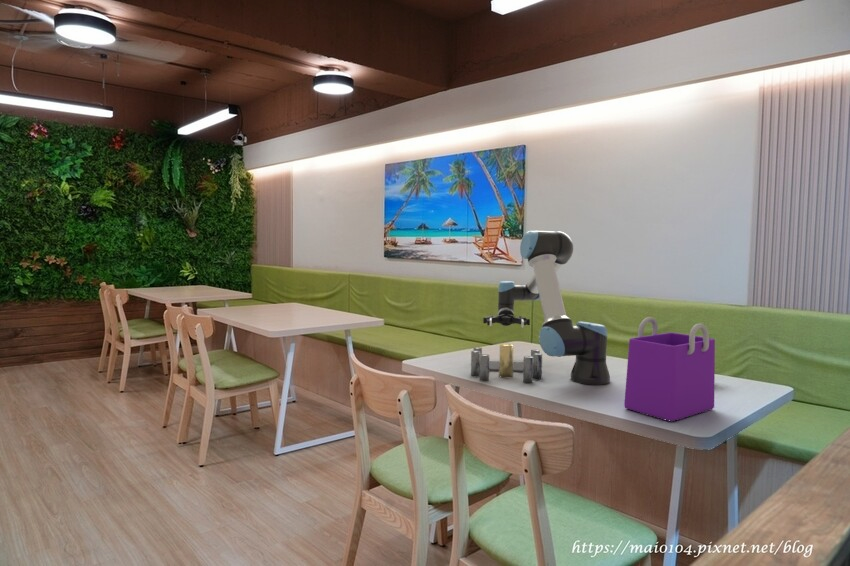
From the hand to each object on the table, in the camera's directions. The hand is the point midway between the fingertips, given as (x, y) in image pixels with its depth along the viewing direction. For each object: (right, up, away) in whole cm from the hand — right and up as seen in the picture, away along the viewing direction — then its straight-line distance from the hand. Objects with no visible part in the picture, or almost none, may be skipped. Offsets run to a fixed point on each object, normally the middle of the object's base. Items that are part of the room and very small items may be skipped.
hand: (506, 324), depth 231 cm
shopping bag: (+46, -25, -51) cm, 73 cm away
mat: (+1, -20, +8) cm, 21 cm away
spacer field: (-1, -21, -8) cm, 22 cm away
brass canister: (-1, -21, -8) cm, 22 cm away
